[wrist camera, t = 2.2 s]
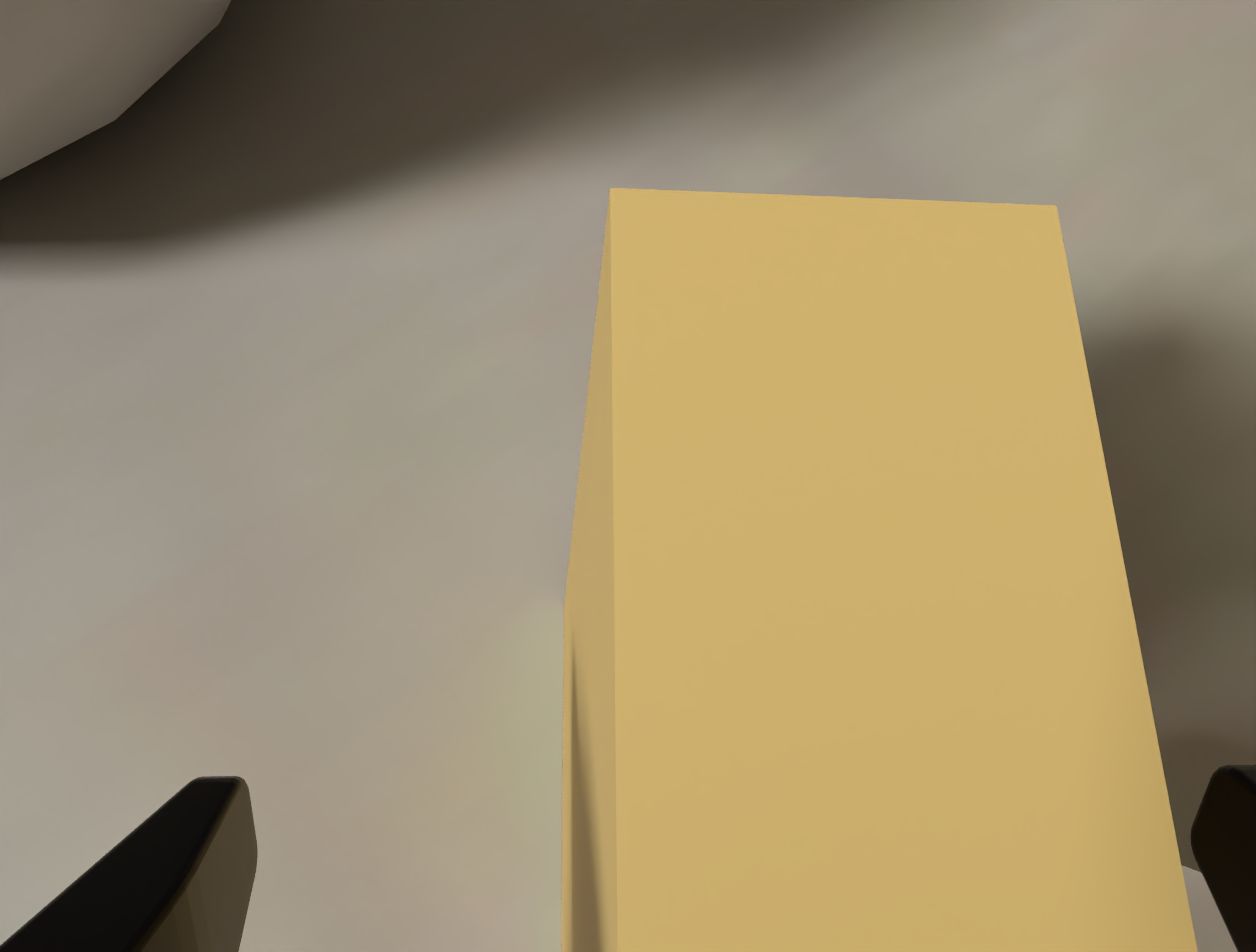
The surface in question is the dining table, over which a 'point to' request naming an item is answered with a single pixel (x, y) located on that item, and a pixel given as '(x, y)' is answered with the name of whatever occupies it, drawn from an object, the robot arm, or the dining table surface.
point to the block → (851, 596)
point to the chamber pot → (85, 65)
